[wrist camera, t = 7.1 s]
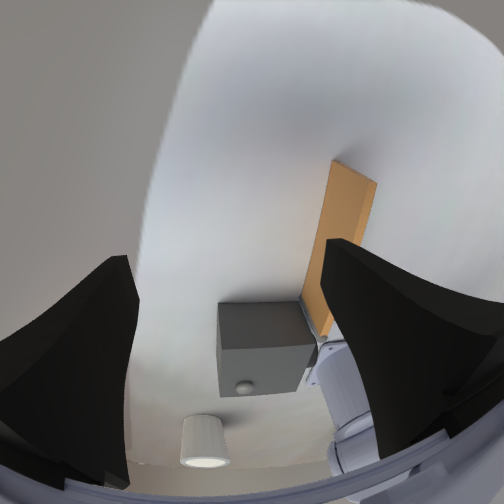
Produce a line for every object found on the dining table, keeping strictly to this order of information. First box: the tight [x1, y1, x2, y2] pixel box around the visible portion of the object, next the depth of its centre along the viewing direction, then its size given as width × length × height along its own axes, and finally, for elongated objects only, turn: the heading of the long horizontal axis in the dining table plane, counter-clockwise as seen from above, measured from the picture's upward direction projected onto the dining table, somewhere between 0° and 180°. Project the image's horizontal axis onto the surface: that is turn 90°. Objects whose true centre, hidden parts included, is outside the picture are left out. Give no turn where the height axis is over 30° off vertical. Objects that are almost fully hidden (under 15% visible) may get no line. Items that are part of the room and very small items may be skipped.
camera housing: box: [216, 302, 318, 397], centre depth 23 cm, size 8×7×6 cm
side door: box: [300, 161, 377, 343], centre depth 19 cm, size 12×1×5 cm, turn 174°
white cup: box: [180, 415, 231, 468], centre depth 31 cm, size 7×7×7 cm
